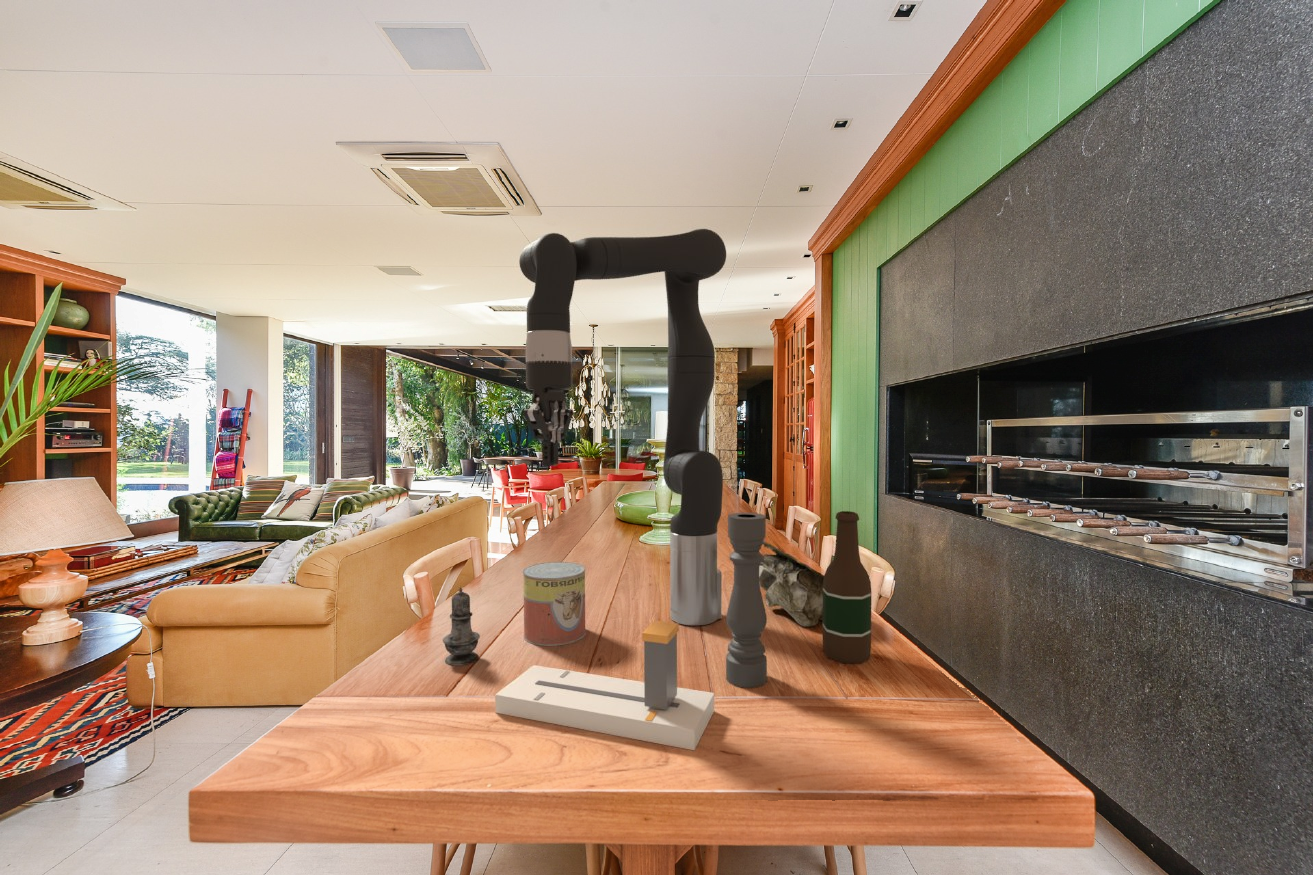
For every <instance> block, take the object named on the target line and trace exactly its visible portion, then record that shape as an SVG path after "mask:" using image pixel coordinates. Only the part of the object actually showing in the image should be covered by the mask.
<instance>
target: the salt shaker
mask: <svg viewBox="0 0 1313 875" xmlns="http://www.w3.org/2000/svg"><path fill="white" fill-rule="evenodd" d="M463 590H464V589H463V588H462V587H461V586H460V587H459V589H458V592H456V593H455V594H454V595H452V597H451V613H450V615H449V618H450V620H451V630H450V634H447V635H445V636H444V637H443V639H442V643H444V648H445V650H446V651H447V652H448V653H449V655H448V656H446V658H445V659H444V661H445V664H446V665H449V666H452V667H453V666H454V667H455V666H465V665H470V664H472V663H475V662H476V661H477V660H478V659H479V654H478V653H476V652H474V651H475V649H476V648H477V647H478V643H479V639H480V638H481V634H480V633H478V632H476V631H473V630H472V622H471V621H472V620H471V619H472V616H473V613H472V612H471V597H470V595H469V594H468V593H467V592H464V591H463Z"/></svg>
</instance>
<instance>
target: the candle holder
mask: <svg viewBox="0 0 1313 875" xmlns="http://www.w3.org/2000/svg"><path fill="white" fill-rule="evenodd" d="M766 517H767V516H766V515H765V514H763V513H756V512H754V513H753V512H734V513H730V514H728V515H727V537H728V538H729V543H730V544H731V547H732V549H733V551H732V552H731V553H729V561H731V562H732V564H733V585H732V590H731V594H730V598H729V604H728V607H727V611H726V615H725V616H726V620H725V621H726V624H727V626H728V628H729V629H730V631H731V636H732V637H733V638H732V639H731V640H730V642H729V643H728V644H727V651H728V652H727V653H726V654H725V655H726V656H725V659H726V660H725V671H726V672H725V679H726V681H727V683H729V684H731V685H733V686H735V687H739V688H745V689H746V688H747V689H754V688H759V687H762V686H764V685H765V684H766V683H767V681H768V679H767V678H768V676H767V674H768V671H767V670H768V665H767V664H768V663H767V662H768V660H767V656H766V655H765V653H766V646H765V645H764V644H763V642H762V641H761V637H762V632H763V631H764V629H765V628H766V627H767V623H768V618H767V613H766V608H765V603H764V599H763V596H762V591H761V587H760V585H759V565H761V562H763V561H764V556H763V555H764V554H763V553H761V552H760V551H761V549H762V546H764V544H763V543H764V541H765V540H764V539H766V536H767V534H766V532H767V531H766V524H767V523H766V522H767V521H766V520H767V518H766Z"/></svg>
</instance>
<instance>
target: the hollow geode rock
mask: <svg viewBox="0 0 1313 875" xmlns="http://www.w3.org/2000/svg"><path fill="white" fill-rule="evenodd" d="M763 541H764V543H763V548H764V549H765V548H766V549H770V550H771V551H772V552H774V553H775V554H770V553H769V554H767V553H766V554H762V555H763V556H764V561H763V562H761V565H759V585H760V588H761V589H763V590H764V591H765V594H764V598H765V603H766V605H767V606H768V607H770V608H773V607H775V606H777V607H778V606H779V607H780V608H782V609H783V610H784V611H786V612H787V614H788V615H789V616H791V618H793V619H794V620H795V622H796V623H797V624H798V625H800V626H801V627H815V626H816V625H817V624H818V623H819V622H820V621H823V579H824V575H825V574H822V573H821V572H818V570H815V569H813V568H812V567H810V566H809V565H808V564H806V563H803V562H801V561H800V560H798V558H795V557H794V556H792V555H791V554H790V553H786V552H785V551H784V550H781V549H780V548H777V547H775V546H774V545H772V544H771V543H769V542H766V541H765V540H763Z"/></svg>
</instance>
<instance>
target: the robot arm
mask: <svg viewBox="0 0 1313 875" xmlns="http://www.w3.org/2000/svg"><path fill="white" fill-rule="evenodd" d="M726 259H727V249H726V245H725V243H724V240H723V239H722V238H721V236H720V235H719V234H718V233H717V232H716V231H713V230H711V229H708V228H698V229H697V228H696V229H694V230H691V231H688V232H684V233H678V234H672V235H662V236H661V235H660V236H640V237H639V236H637V237H636V236H635V237H632V236H631V237H629V236H627V237H626V236H623V237H621V236H618V237H617V236H612V237H611V236H609V237H608V236H600V237H599V236H593V237H584V238H580V239H579V240H576V241H570V240H569V238H567V237H566V236H565V235H563V234H560V233H558V232H557V233H556V232H551V233H547V234H544V235H542V236H540V237H538V238H537V239H536V240H534V241H532V242H529V244H527V245H526V246H525V247H524V249H522V251H521V253H520V255H519V259H518V260H519V268H520V271H521V273H522V275H523V276H524V277H525V278H526V279H527V280H529V281H530V282H532V283H534V291H533V294H532V296H531V297H530V298H529V299H528V302H527V305H526V340H525V379H526V380H525V386H526V389H527V390H529V391H530V390H532V397H531V404H532V405H531V406H530V408H524V409H523V413H522V414H523V416H524V419H525V420H526V424H527V426H528V428H529V429H530V430H529V431H530V432H531V435H532V437H533V439H534V440H538V441H539V443H540V444H541V451H542V452H541V456H542V457H541V460H542V465H543V466H544V467H554V466H558V464H559V443H560V442H561V440H562V439H565V438H566V436H567V433H568V431H569V428H570V425H571V421H572V420H573V416H574V410H573V409H572V408H568V407H567V397H566V391H568V390H571V389H572V388H573V345H572V339H571V314H570V313H571V312H570V310H571V309H570V307H571V301H572V298H573V293H574V288H575V282H577V281H581V280H582V281H584V280H585V281H586V280H591V281H593V280H598V281H599V280H600V281H601V280H614V279H615V280H616V279H625V278H631V277H638V276H643V275H649V274H656V273H662V272H663V273H664V280H665V281H664V282H665V289H666V291H665V292H666V303H667V336H668V337H667V340H668V342H667V343H668V344H667V346H668V347H667V424H666V425H667V426H666V438H665V446H664V455H663V470H662V472H663V479H664V482H665V485H666V487H667V488H668V489H669V490H670V491H671V492H673V493H674V494H676V495H680V497H681V498H680V508H679V512H678V513H677V514H674V515H673V516H671V518H670V524H669V527H670V528H669V529H670V530H669V533H670V534H669V535H670V536H669V539H670V542H669V545H670V546H669V547H670V552H669V553H670V555H669V556H670V558H669V559H670V567H669V568H670V578H669V579H670V580H669V581H670V607H669V608H670V619H671V620H672V621H673V622H674V623H679V624H681V625H685V626H705V625H709V624H713V623H715V622H716V621H718V620H722V604H723V603H722V599H723V598H722V594H723V593H722V584H723V583H722V580H723V579H722V570H721V569H719V568H718V524H719V521H720V520H721V516H722V510H723V509H722V507H723V489H724V488H723V487H724V473H723V469H722V464H721V461H720V460H719V458H718V457H717V456H716V455H715V454H713V453H712V452H709V451H705V450H700V426H701V422H702V417H703V414H704V412H705V410H706V408H707V405H708V402H709V399H710V397H711V395H712V391H713V388H714V384H715V377H716V376H715V374H716V373H715V369H716V368H715V367H716V365H715V364H716V363H715V362H716V360H715V358H716V355H715V354H716V353H715V352H716V351H715V347H714V344H713V340H712V338H711V336H710V333H709V331H708V329H707V327H706V324H705V323H704V321H703V318H702V316H701V312H700V308H699V307H700V305H699V285H700V281H702V280H706V279H710V278H711V277H714V276H715V275H717V274H718V273H719V272H720V271H721V270H722V269H723V267H724V266H725V263H726V261H727V260H726Z"/></svg>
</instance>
